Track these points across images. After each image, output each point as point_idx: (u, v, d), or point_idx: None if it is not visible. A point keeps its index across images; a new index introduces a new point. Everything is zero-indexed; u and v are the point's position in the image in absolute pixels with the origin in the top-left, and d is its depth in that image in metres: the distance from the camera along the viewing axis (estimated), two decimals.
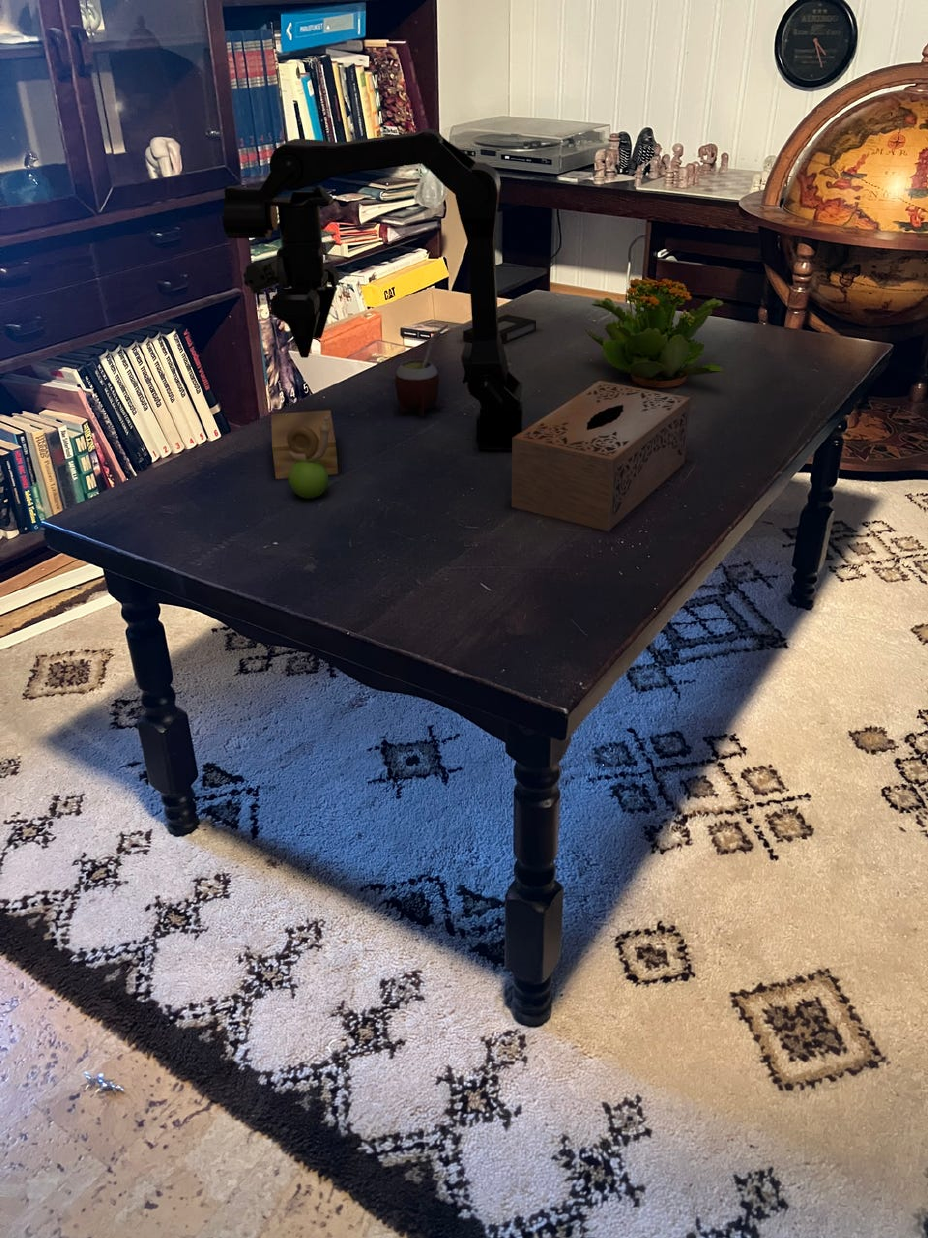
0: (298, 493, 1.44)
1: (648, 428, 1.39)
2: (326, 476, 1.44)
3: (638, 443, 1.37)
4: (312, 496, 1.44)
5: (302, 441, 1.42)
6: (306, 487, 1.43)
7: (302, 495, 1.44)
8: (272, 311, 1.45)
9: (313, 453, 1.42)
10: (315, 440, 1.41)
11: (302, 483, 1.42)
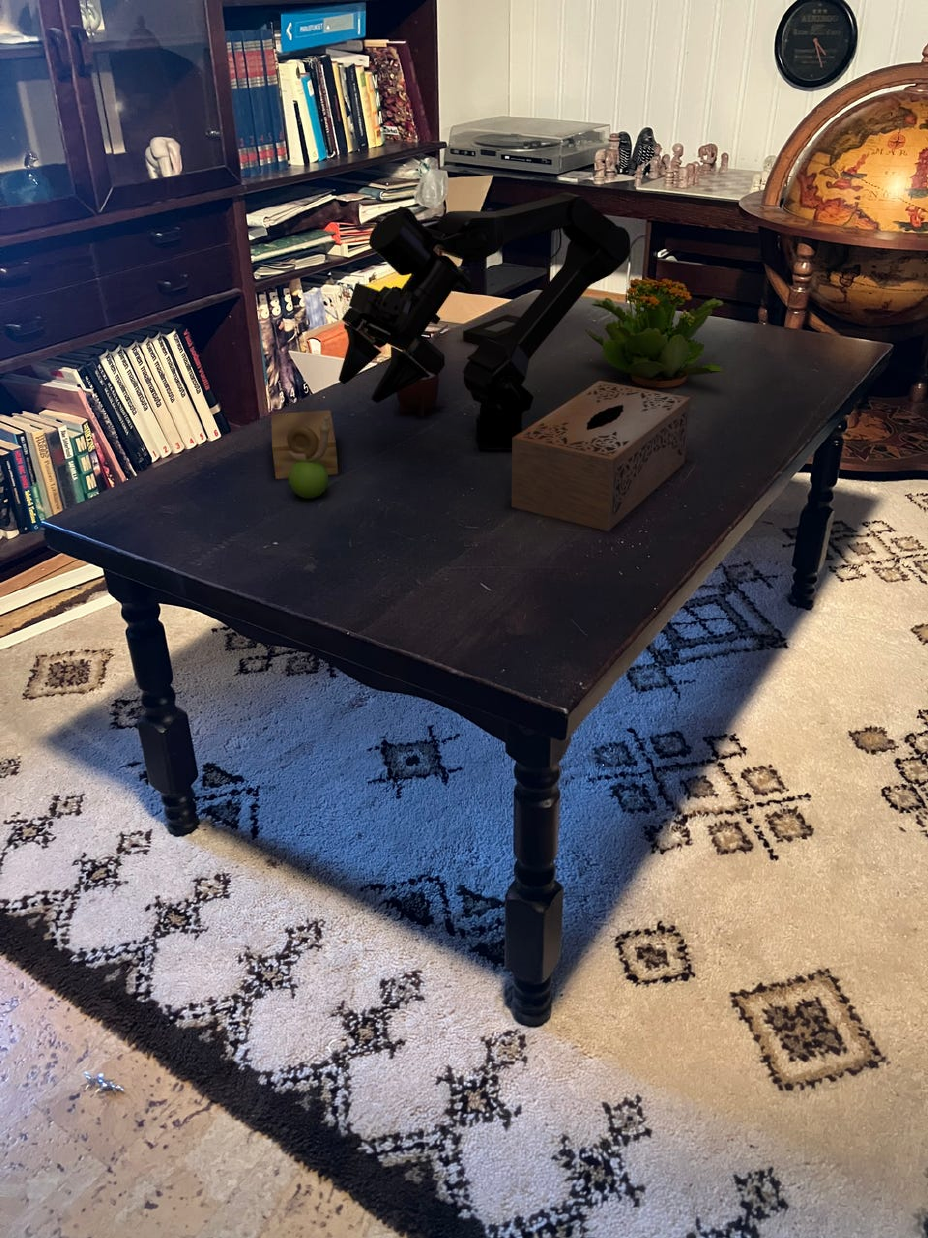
0: (298, 493, 1.44)
1: (648, 428, 1.39)
2: (326, 476, 1.44)
3: (638, 443, 1.37)
4: (312, 496, 1.44)
5: (302, 441, 1.42)
6: (306, 487, 1.43)
7: (302, 495, 1.44)
8: (411, 348, 1.34)
9: (313, 453, 1.42)
10: (315, 440, 1.41)
11: (302, 483, 1.42)
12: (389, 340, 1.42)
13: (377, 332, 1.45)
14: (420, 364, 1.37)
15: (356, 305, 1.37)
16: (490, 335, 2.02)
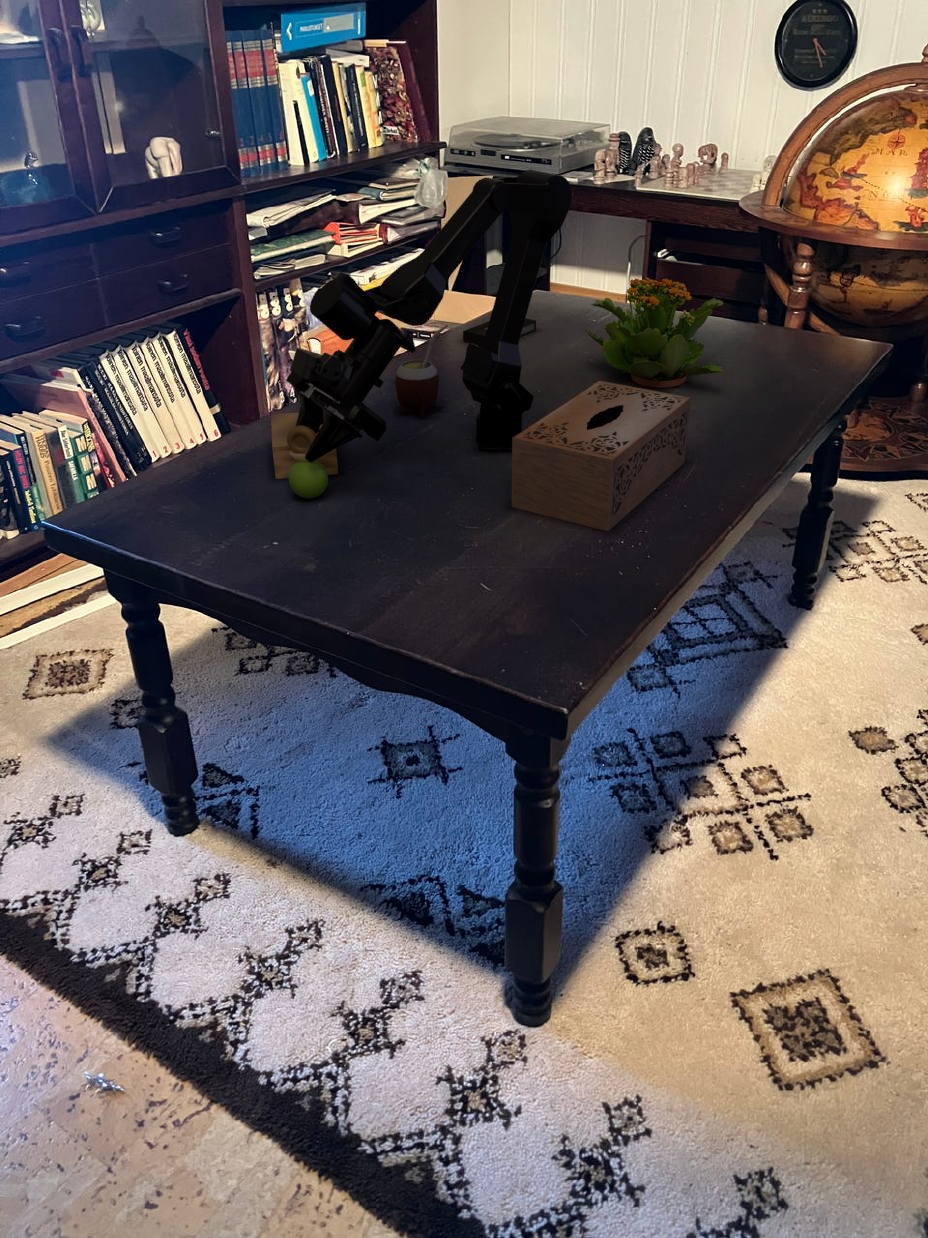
0: (298, 493, 1.44)
1: (648, 428, 1.39)
2: (326, 476, 1.44)
3: (638, 443, 1.37)
4: (312, 496, 1.44)
5: (302, 441, 1.42)
6: (306, 487, 1.43)
7: (302, 495, 1.44)
8: (351, 416, 1.33)
9: None
10: None
11: (302, 484, 1.42)
12: (332, 404, 1.41)
13: (320, 394, 1.44)
14: (352, 425, 1.38)
15: (296, 370, 1.36)
16: None
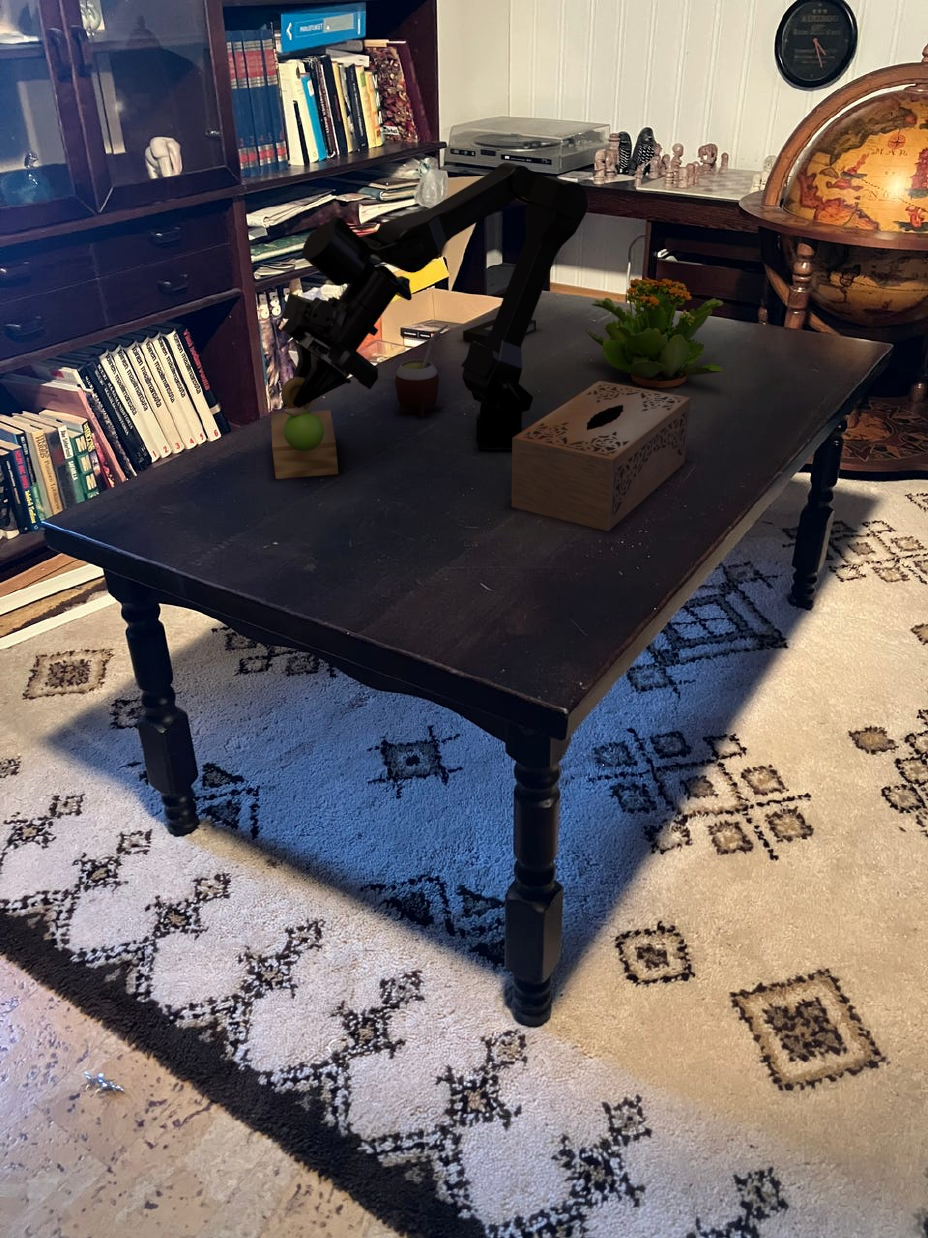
0: (309, 446, 1.42)
1: (648, 428, 1.39)
2: None
3: (638, 443, 1.37)
4: (318, 444, 1.43)
5: None
6: (318, 435, 1.41)
7: (312, 446, 1.42)
8: (341, 361, 1.31)
9: (311, 401, 1.41)
10: None
11: (315, 433, 1.41)
12: (325, 351, 1.39)
13: None
14: (340, 369, 1.37)
15: (288, 316, 1.34)
16: None
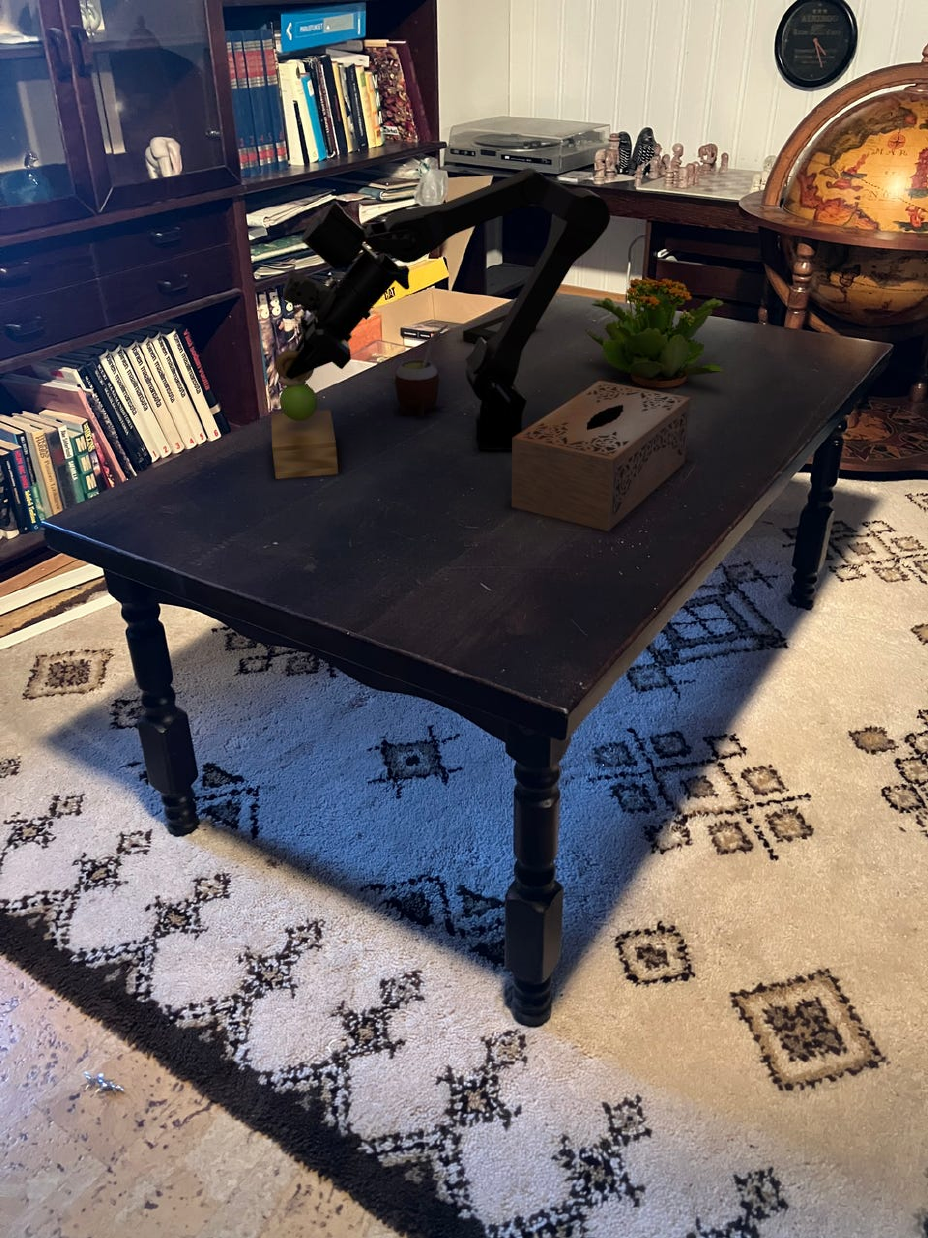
0: (297, 416, 1.51)
1: (648, 428, 1.39)
2: (315, 395, 1.53)
3: (638, 443, 1.37)
4: (309, 416, 1.52)
5: None
6: (306, 407, 1.50)
7: (301, 417, 1.51)
8: (310, 339, 1.39)
9: (304, 374, 1.50)
10: None
11: (302, 405, 1.50)
12: None
13: None
14: None
15: (283, 292, 1.44)
16: (490, 335, 2.02)
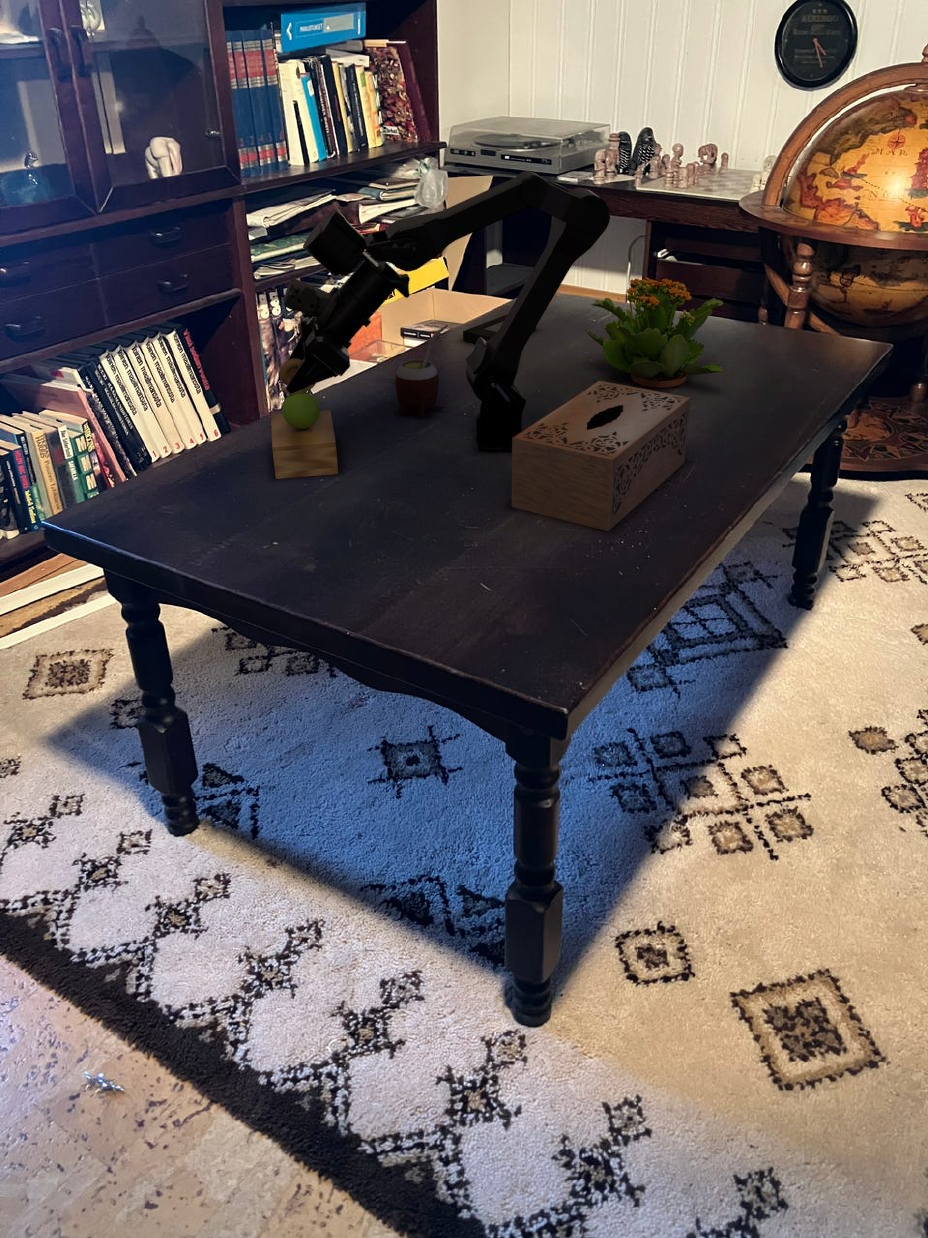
0: (299, 424, 1.52)
1: (648, 428, 1.39)
2: None
3: (638, 442, 1.37)
4: (311, 425, 1.53)
5: None
6: (309, 416, 1.51)
7: (303, 425, 1.52)
8: (310, 346, 1.40)
9: None
10: None
11: (305, 413, 1.51)
12: None
13: None
14: None
15: (284, 299, 1.45)
16: (490, 335, 2.02)
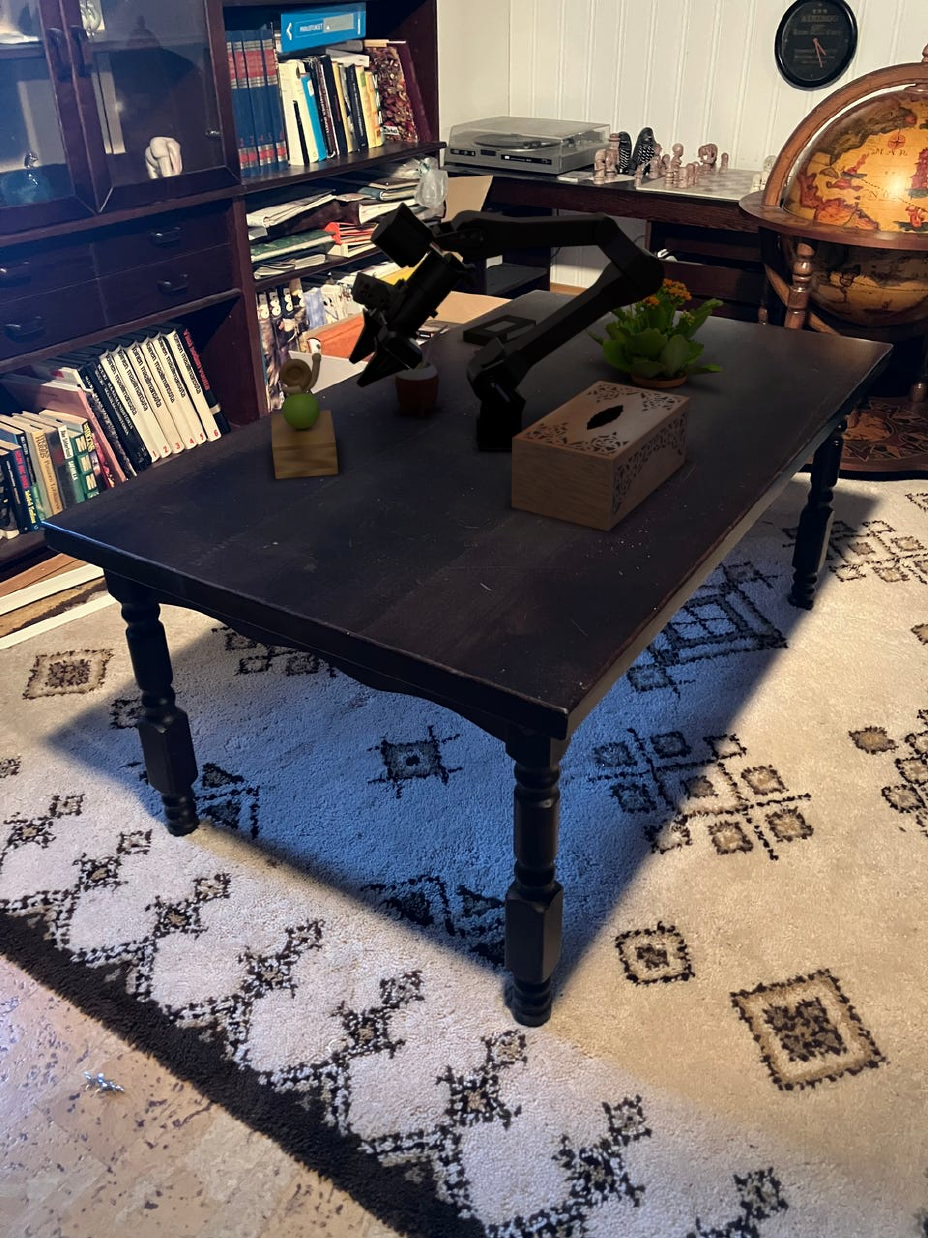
0: (299, 424, 1.52)
1: (648, 428, 1.39)
2: None
3: (638, 442, 1.37)
4: (311, 425, 1.53)
5: (296, 373, 1.50)
6: (309, 416, 1.51)
7: (303, 425, 1.52)
8: (384, 341, 1.41)
9: (308, 383, 1.51)
10: (309, 370, 1.50)
11: (305, 413, 1.51)
12: None
13: None
14: (398, 356, 1.44)
15: (352, 293, 1.45)
16: (490, 335, 2.02)
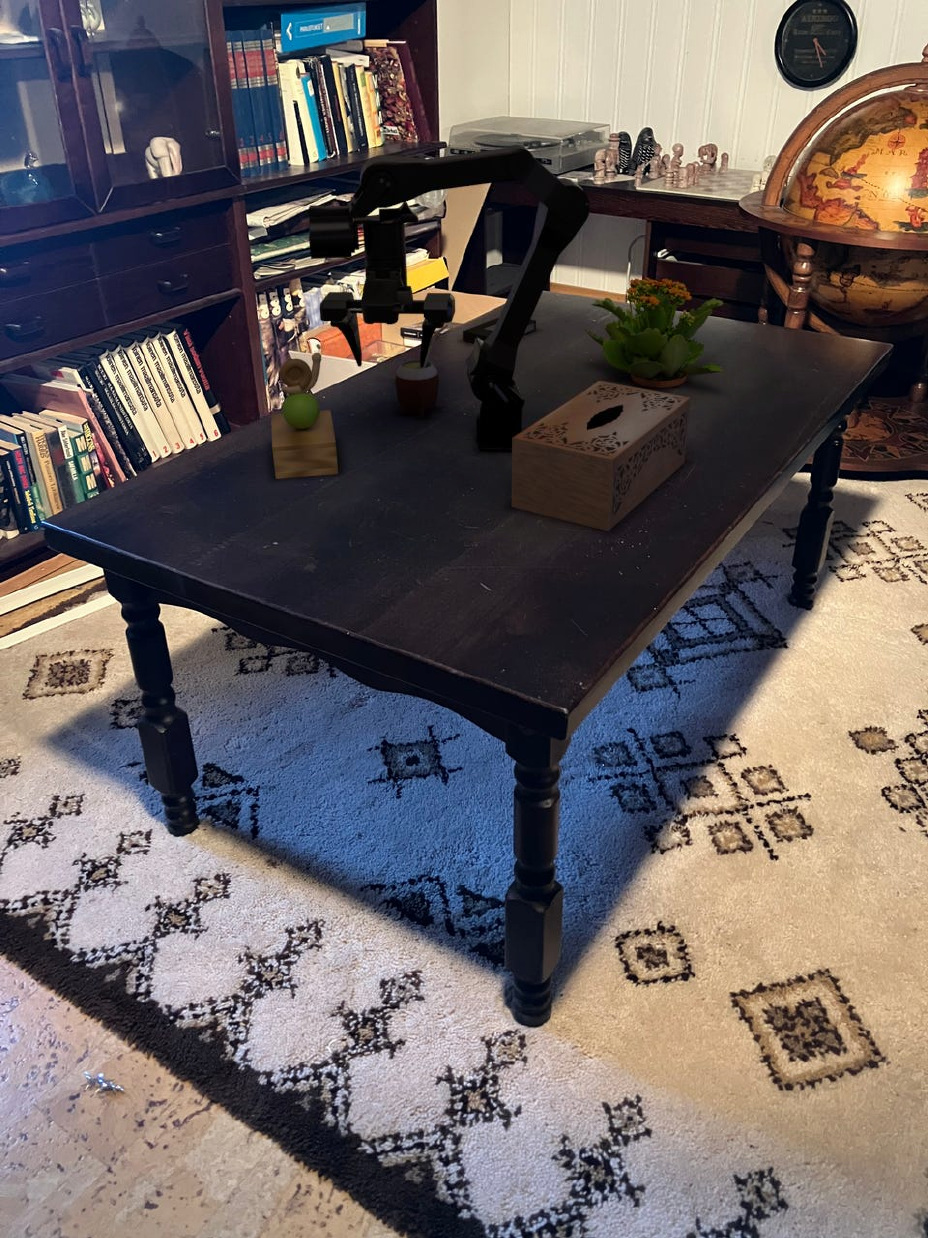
0: (299, 424, 1.52)
1: (648, 428, 1.39)
2: None
3: (638, 442, 1.37)
4: (311, 425, 1.53)
5: (296, 373, 1.50)
6: (309, 416, 1.51)
7: (303, 425, 1.52)
8: (449, 318, 1.46)
9: (308, 383, 1.51)
10: (309, 370, 1.50)
11: (305, 413, 1.51)
12: None
13: None
14: None
15: (380, 321, 1.42)
16: None
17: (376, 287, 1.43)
